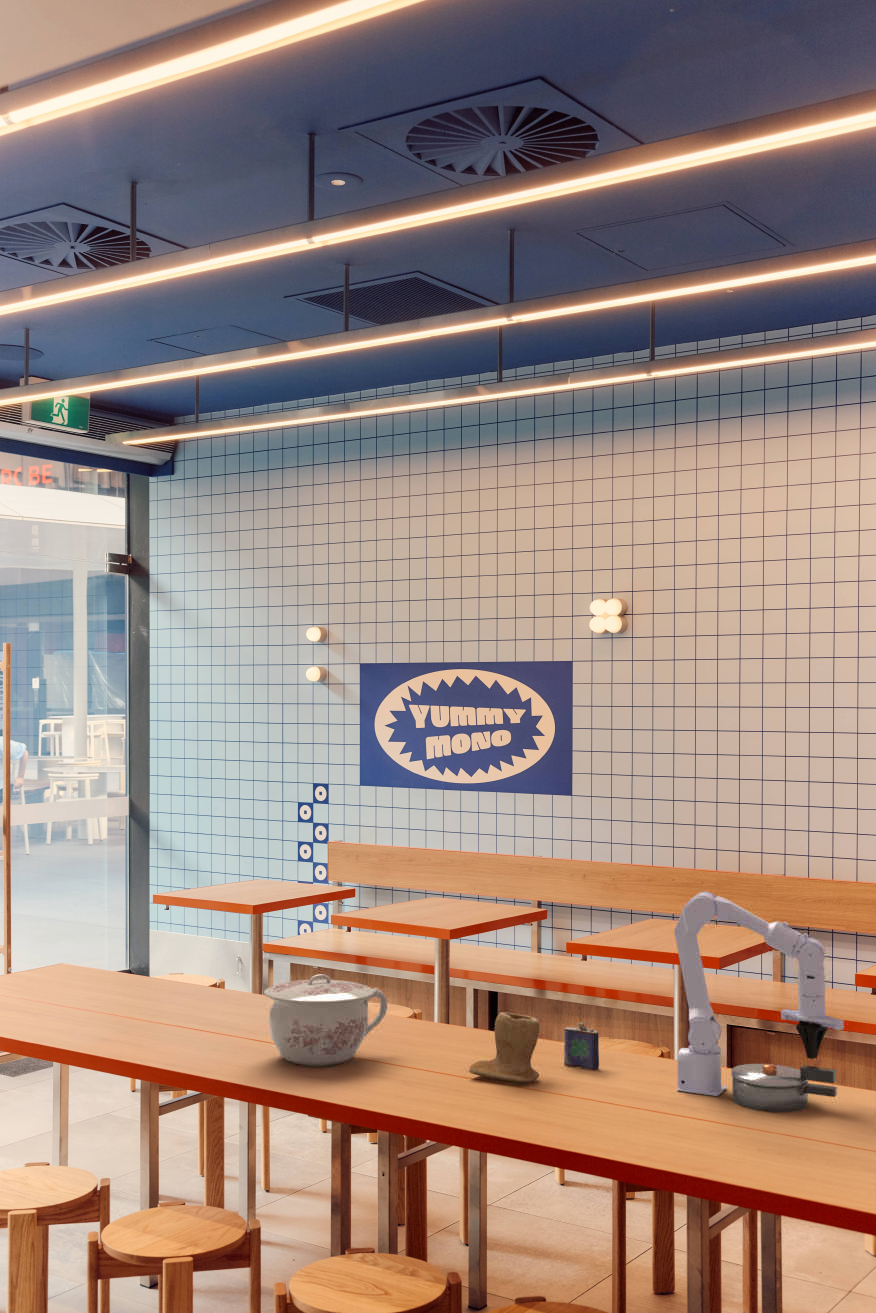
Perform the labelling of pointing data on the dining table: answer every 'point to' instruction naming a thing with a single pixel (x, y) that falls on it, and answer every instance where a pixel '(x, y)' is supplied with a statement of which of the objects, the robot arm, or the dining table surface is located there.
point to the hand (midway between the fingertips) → (812, 1057)
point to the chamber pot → (321, 1019)
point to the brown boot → (511, 1049)
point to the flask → (581, 1047)
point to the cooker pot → (777, 1096)
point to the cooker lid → (781, 1075)
